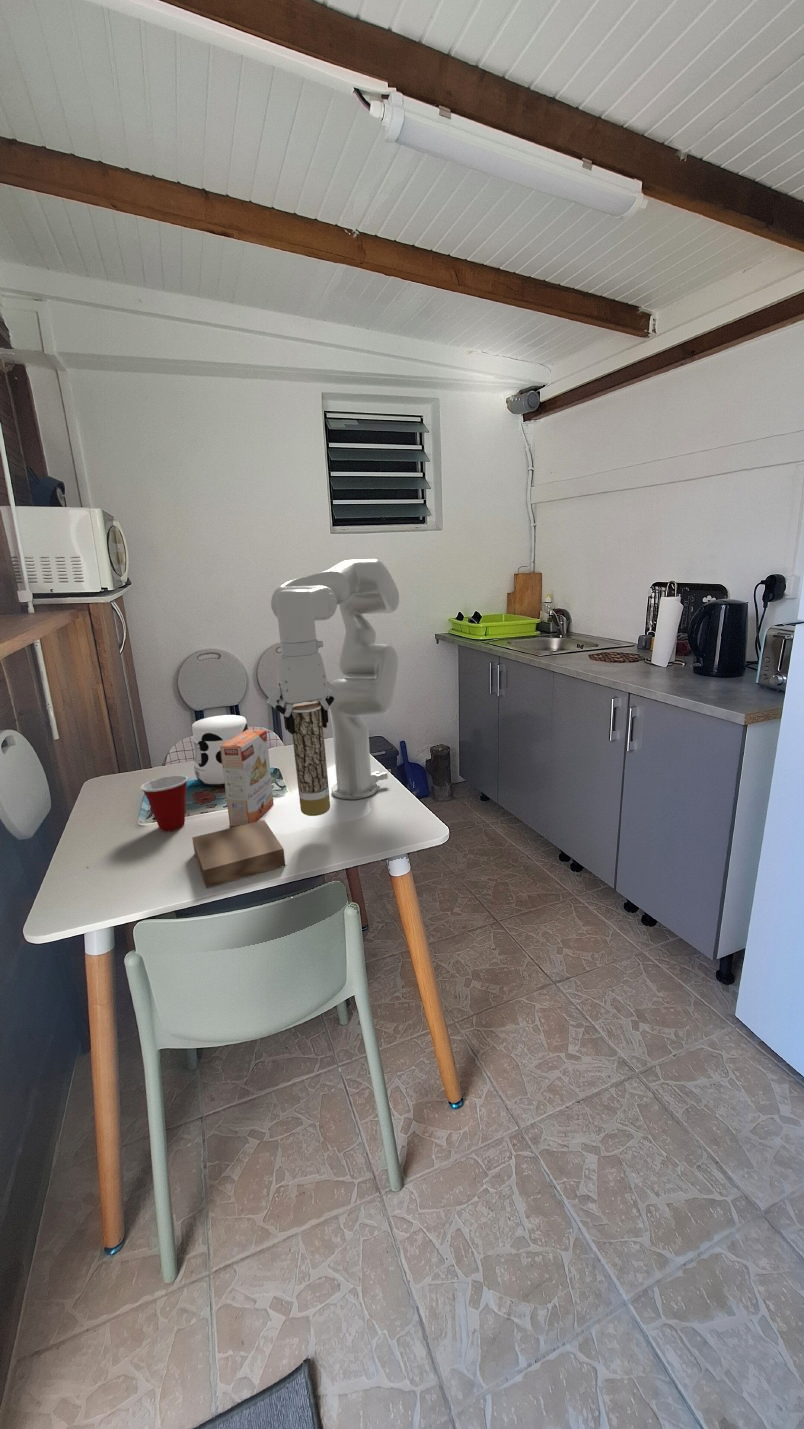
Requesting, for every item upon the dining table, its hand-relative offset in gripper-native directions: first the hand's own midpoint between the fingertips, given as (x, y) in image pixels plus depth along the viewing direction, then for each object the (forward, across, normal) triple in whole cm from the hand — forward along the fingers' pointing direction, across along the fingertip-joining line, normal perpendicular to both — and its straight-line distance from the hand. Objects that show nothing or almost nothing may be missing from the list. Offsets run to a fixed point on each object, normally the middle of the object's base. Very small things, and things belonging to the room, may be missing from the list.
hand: (307, 728), depth 122 cm
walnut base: (+26, +19, +2) cm, 32 cm away
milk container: (+27, +12, -49) cm, 57 cm away
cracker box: (+26, +11, -19) cm, 34 cm away
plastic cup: (+26, +30, -24) cm, 46 cm away
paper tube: (+20, 0, 0) cm, 20 cm away
